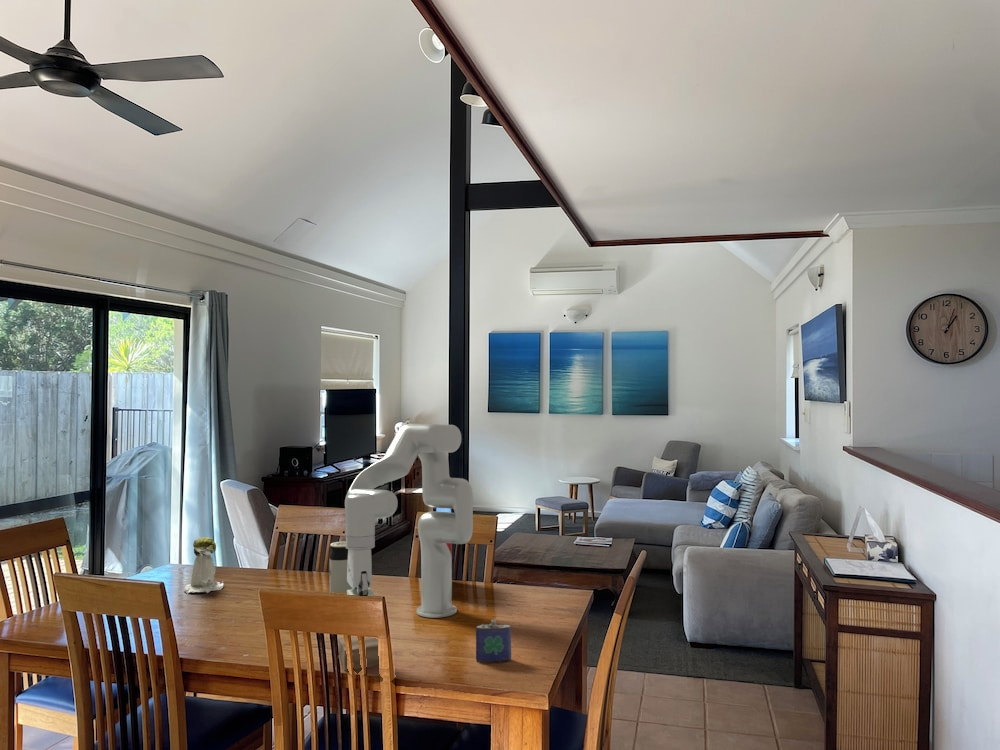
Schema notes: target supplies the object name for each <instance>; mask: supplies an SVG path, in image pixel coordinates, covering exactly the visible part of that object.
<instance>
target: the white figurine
mask: <svg viewBox="0 0 1000 750" xmlns="http://www.w3.org/2000/svg"><path fill="white" fill-rule="evenodd" d="M217 543H218V542H215V541H214V539H213V538H212V537H210V536H207V537H205V536H204V537H202V536H201V537H198V538H196V539H195V540H194V541H193V543H192V546H193V553H194V555H195V556H196V557H195V558H194V562H193V567H192V573H191V579H190V583H189V584H186V585H185V586H184V590H183V591H184V592H185V593H186V594H187V595H188V594H190V593H206V594H208V593H210V592H211V591H214V592H215V591H220V590H222V589H223V588H224V581H223V580H222V581H217V580H215V579H214V577H215V573H216V566H215V563H214V560H213V557H212V555H211V554H214V553H216V551H217Z"/></svg>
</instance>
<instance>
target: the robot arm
mask: <svg viewBox="0 0 1000 750" xmlns="http://www.w3.org/2000/svg"><path fill="white" fill-rule="evenodd" d="M461 444H462V433H461V431H460V428H459V427H458V426H456V425H454V424H438V423H406V424H403V425H402V426H401V427H399V429H398V430H397V431H396V434H395V436H394V437H393V439H392V441H391V443H390V444H389V446H388V448H387V450H386V452H385V453H384V455H383V457H382V458H380V459H379V460H377V461H375V462H374V463H372V464H371V465H370V466H368V467H366V468H364V469H363V470H362V471H361V472H360V473H358V475H356V477H355V479H353V482H352V483H351V484H350V487H349V489H348V491H347V493H346V495H345V499H344V508H345V542H346V549H348V564H347V582H348V583H349V585H350V586H351V587H352V589H357V595H358V596H369V591H368V588H370V587H371V586H372V580H373V579H372V578H373V576H372V574H373V573H372V571H373V570H372V549H374V548H375V547H376V545H375V544H376V543H375V542H376V538H375V537H376V536H375V535H376V527H375V526H376V519H387V518H390V517H392V516H393V515H394V514H395V512H396V511H397V509H398V504H399V503H398V501H399V500H398V498H397V495H396V494H395V493H394V492H393V491H392V490H391V491H390V490H387V489H376V488H377V487H379V486H381V485H382V486H383V485H384V484H387V483H391V482H393V481H396V480H399V479H401V478H404V477H405V476H407V475H408V474H409V473H410V472H411V469H412V467H413V464H414V463H415V462H416V459H417V457H418V458H419V460H420V462H421V476H422V477H421V478H422V479H421V481H422V482H421V484H422V486H421V487H422V488H421V489H422V501H423V503H424V505H425V506H427V507H430V508H450V509H451V510H452V509H453V511H454V512H452V511H451V512H436V510H435V511H428V512H424V513H423V514H422V515H420V517H419V519H418V521H417V532H418V536H419V537H418V538H419V541H420V556H421V557H420V560H421V561H420V562H421V564H420V565H421V566H420V567H421V568H420V569H421V571H420V573H421V574H420V575H421V576H420V577H421V579H420V580H421V605H419V606H417V608H416V614H417V615H418V616H421V617H424V618H427V619H428V618H430V619H432V618H433V619H435V618H437V619H438V618H439V619H440V618H446V617H451V616H453V615H455V614H456V613H457V612H458V611H457V609H458V608H457V606H455V605H454V604H452V603H453V601H452V600H453V599H452V598H453V579H452V580H451V553H450V551H449V549H448V547H447V545H446V543H452V545H453V544H455V545H464V544H467V543H468V542H470V540H471V539H472V536H473V531H474V526H473V525H474V517H473V515H474V514H473V512H474V508H473V507H474V505H473V497H474V496H473V488H472V487H471V484H470V481H468V480H467V479H465V478H462V477H461V478H460V477H451V476H450V467H449V466H450V465H449V459H448V457H447V455H446V453H450V454H451V453H454V452H457V450H458V449H459V448H460V446H461ZM360 590H362V591H361V592H360Z"/></svg>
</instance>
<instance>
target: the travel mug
mask: <svg viewBox="0 0 1000 750" xmlns="http://www.w3.org/2000/svg"><path fill="white" fill-rule="evenodd" d="M329 546H330V548H331V550H330V552H329V593H330V592H334V593H347V590H352V587H351V586H350V585H349V583H348V582H347V564H348V549H346V540H345V541H344V540H343V541H334V542H331V543H330V545H329Z"/></svg>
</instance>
